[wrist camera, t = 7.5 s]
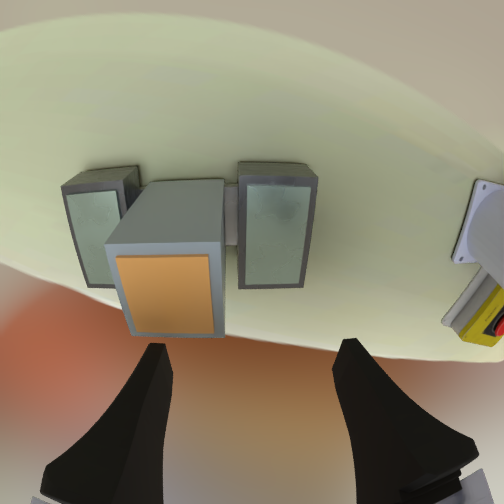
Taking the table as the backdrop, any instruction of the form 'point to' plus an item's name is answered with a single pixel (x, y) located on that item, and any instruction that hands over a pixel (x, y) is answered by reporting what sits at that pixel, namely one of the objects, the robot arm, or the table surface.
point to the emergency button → (478, 311)
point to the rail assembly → (236, 220)
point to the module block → (172, 260)
